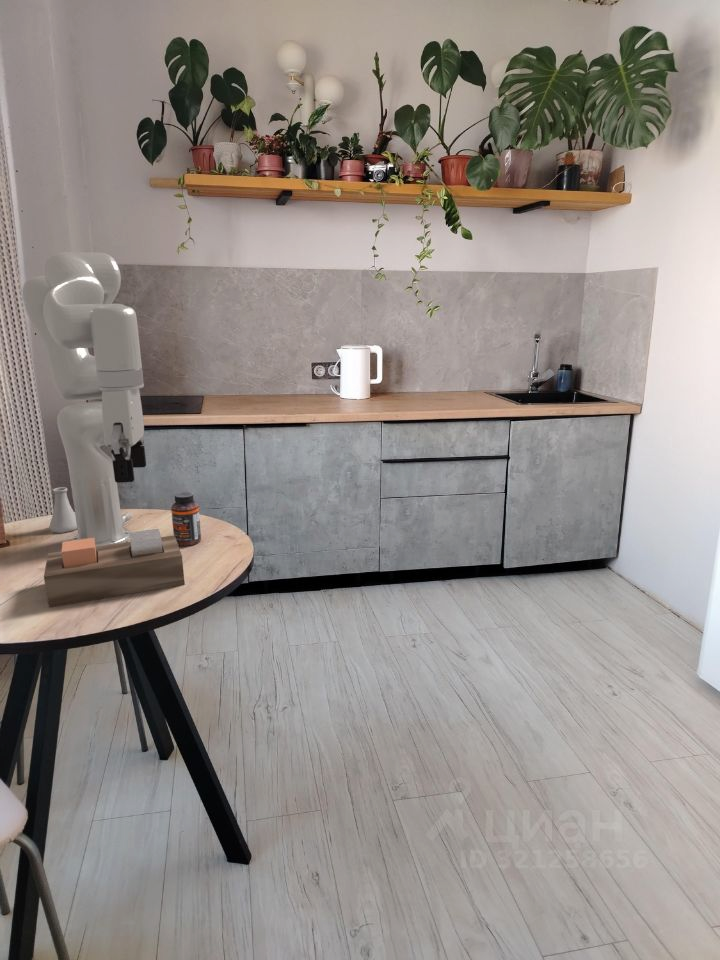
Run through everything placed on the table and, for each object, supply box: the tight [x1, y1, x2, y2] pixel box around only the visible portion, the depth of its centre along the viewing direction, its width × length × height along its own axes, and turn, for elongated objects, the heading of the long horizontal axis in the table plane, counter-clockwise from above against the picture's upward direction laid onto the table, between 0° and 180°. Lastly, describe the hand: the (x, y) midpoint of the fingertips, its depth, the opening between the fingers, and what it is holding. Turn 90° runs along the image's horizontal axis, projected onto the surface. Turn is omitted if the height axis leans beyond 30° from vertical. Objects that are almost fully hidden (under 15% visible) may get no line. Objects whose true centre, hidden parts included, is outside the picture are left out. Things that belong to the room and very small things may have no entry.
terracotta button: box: [61, 538, 98, 568], centre depth 126 cm, size 6×6×5 cm
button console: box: [43, 534, 186, 608], centre depth 129 cm, size 12×24×6 cm, turn 111°
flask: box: [48, 486, 77, 534], centre depth 160 cm, size 7×7×10 cm
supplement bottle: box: [170, 491, 202, 547], centre depth 149 cm, size 6×6×11 cm
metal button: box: [129, 528, 163, 557], centre depth 131 cm, size 6×6×5 cm
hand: (131, 474), depth 121 cm, fingers open, 9 cm apart
